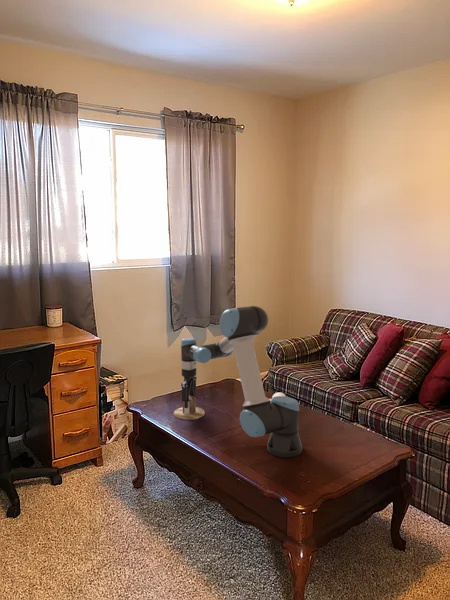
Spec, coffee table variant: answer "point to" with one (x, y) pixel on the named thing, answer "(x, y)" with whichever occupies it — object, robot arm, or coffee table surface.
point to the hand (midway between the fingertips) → (189, 411)
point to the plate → (195, 415)
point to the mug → (278, 395)
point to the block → (191, 404)
